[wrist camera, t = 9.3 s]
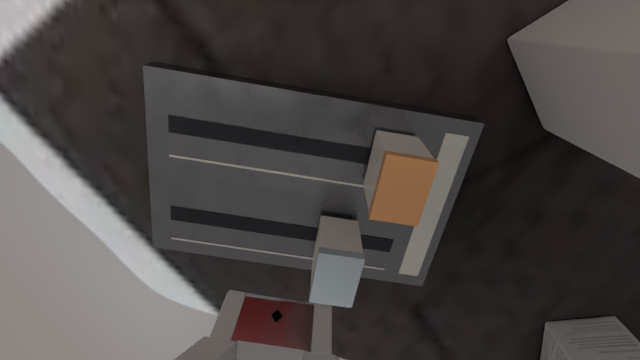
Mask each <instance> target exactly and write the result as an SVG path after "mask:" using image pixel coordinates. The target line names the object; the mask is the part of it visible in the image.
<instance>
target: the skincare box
mask: <svg viewBox="0 0 640 360" xmlns="http://www.w3.org/2000/svg"><path fill="white" fill-rule="evenodd" d="M540 360H640V342H639V341H638V340H637V339H636V338H635V337H634V336H633V335H632V333H631V332H630V331H629V330H628V329H627V328H626V327H625V326H624V325H623V324H622V323H621V322H620V321H619V320H618V319H617V318H616V317H615V316H605V317H595V318H584V319H573V320H562V321H551V322H546V323H545V328H544V335H543V342H542V349H541V356H540Z"/></svg>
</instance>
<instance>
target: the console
mask: <svg viewBox="0 0 640 360" xmlns="http://www.w3.org/2000/svg"><path fill="white" fill-rule="evenodd" d="M143 76H144V94H145V112H146V130H147V148H148V167H149V185H150V203H151V221H152V239H153V247H154V248H161V249H168V250H175V251H182V252H189V253H196V254H203V255H210V256H217V257H223V258H230V259H237V260H244V261H251V262H258V263H265V264H272V265H279V266H286V267H293V268H299V269H306V270H312V259H313V253H314V248H315V243H316V238H317V233H318V228H319V223H320V217H321V215H322V216H329V217H335V218H342V219H348V220H355V221H358V222H359V229H360V235H361V242H362V249H363V253H364V255H365V262H364V265H363V269H362V273H361V276H360V277H362V278H369V279H375V280H382V281H389V282H396V283H403V284H410V285H417V286H423V283H424V280H425V278H426V275H427V273H428V270H429V267H430V265H431V262H432V260H433V257H434V254H435V252H436V249H437V247H438V244H439V241H440V239H441V236H442V233H443V231H444V228H445V226H446V223H447V220H448V218H449V215H450V213H451V210H452V207H453V205H454V202H455V200H456V197H457V194H458V192H459V189H460V187H461V184H462V181H463V179H464V176H465V174H466V171H467V168H468V166H469V163H470V161H471V158H472V155H473V153H474V150H475V147H476V145H477V142H478V140H479V137H480V134H481V132H482V129H483V127H484V123H483V122H481V121H480V120H479V119H477V118H475V117H469V116H464V115H458V114H452V113H446V112H440V111H435V110H429V109H423V108H417V107H411V106H406V105H400V104H394V103H388V102H382V101H376V100H371V99H365V98H359V97H353V96H347V95H342V94H336V93H330V92H324V91H318V90H313V89H307V88H301V87H295V86H289V85H284V84H278V83H272V82H266V81H260V80H254V79H249V78H243V77H237V76H231V75H225V74H220V73H214V72H208V71H202V70H196V69H191V68H185V67H179V66H173V65H167V64H161V63H156V62H153V63H149V64H145V65H143ZM376 130H379V131H385V132H391V133H397V134H403V135H409V136H415V137H419V139H420V140H421V141H422V143H423V144H424V145H425V147H426V148H427V149H428V151H429V152H430V153H431V155H432V156H433V157H434V158H435V159H437V160H438V162H439V166H438V169H437V172H436V175H435V178H434V181H433V184H432V186H431V189H430V192H429V195H428V198H427V201H426V204H425V207H424V210H423V213H422V216H421V219H420V221H419V224H418V227H417V226H410V225H404V224H397V223H391V222H384V221H378V220H371V219H369V215H368V213H369V210H368V205H367V200H366V196H365V191H364V186H363V183H364V179H365V175H366V171H367V167H368V163H369V159H370V155H371V150H372V146H373V142H374V138H375V134H376Z"/></svg>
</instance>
